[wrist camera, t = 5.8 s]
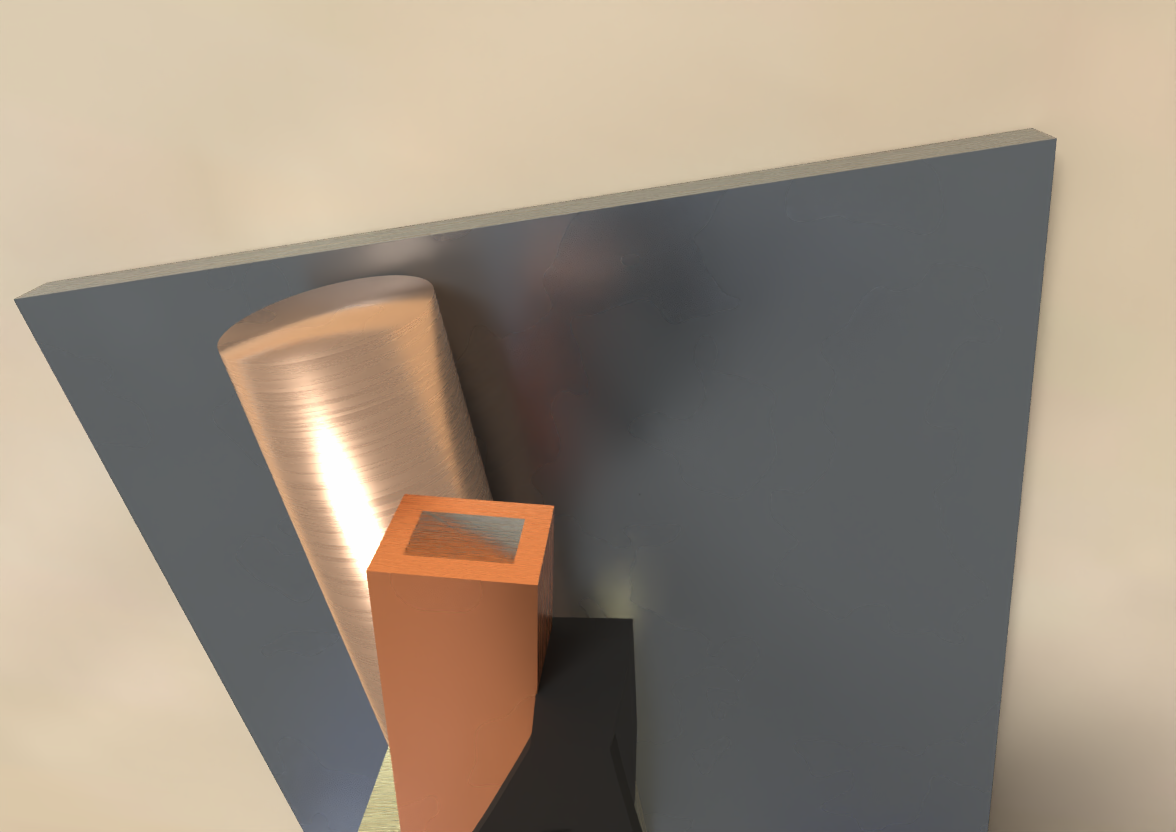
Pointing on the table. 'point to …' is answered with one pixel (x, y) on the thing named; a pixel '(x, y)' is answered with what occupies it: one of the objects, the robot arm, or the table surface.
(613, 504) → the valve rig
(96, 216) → the table surface
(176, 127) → the table surface
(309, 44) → the table surface
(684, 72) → the table surface
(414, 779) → the valve lever
